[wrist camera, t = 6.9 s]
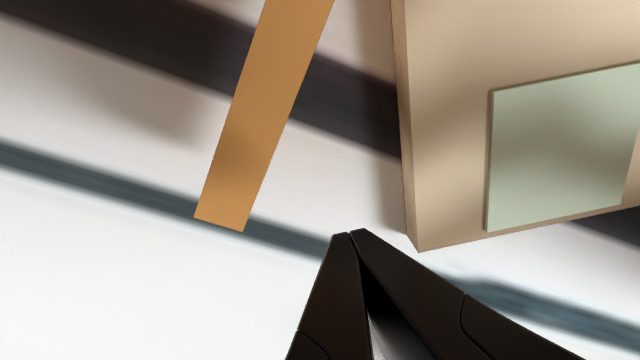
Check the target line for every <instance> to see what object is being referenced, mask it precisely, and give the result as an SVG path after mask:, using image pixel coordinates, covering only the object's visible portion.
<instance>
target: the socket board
mask: <svg viewBox="0 0 640 360" xmlns="http://www.w3.org/2000/svg"><path fill="white" fill-rule="evenodd" d="M391 12H392V27H393V41H394V55H395V69H396V84H397V98H398V112H399V126H400V141H401V155H402V169H403V184H404V198H405V212H406V226H407V236H408V238H409V239H410V241H411V242H412V244H413V245H414V247H415V249H416V250H417V252H418V253H420V252H425V251H429V250H434V249H439V248H444V247H448V246H453V245H458V244H462V243H467V242H472V241H476V240H481V239H486V238H490V237H495V236H500V235H504V234H509V233H514V232H518V231H523V230H528V229H532V228H537V227H542V226H546V225H551V224H556V223H560V222H565V221H570V220H574V219H579V218H584V217H588V216H593V215H598V214H602V213H607V212H612V211H616V210H621V209H626V208H630V207H635V206H640V0H391Z"/></svg>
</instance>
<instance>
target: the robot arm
mask: <svg viewBox="0 0 640 360" xmlns="http://www.w3.org/2000/svg"><path fill="white" fill-rule="evenodd" d="M368 317H369V320H370V323H371V326H372V328H373V331H374V333H375V336H376V338H377V341H378V343H379V345H380V348H381V350H382V353H383V355H384V358H385V360H586V359H584V358H582V357H580V356H578V355H576V354H574V353H572V352H570V351H568V350H566V349H565V348H563V347H561V346H559V345H557V344H555V343H553V342H551V341H549V340H547V339H545V338H543V337H541V336H540V335H538V334H536V333H534V332H532V331H530V330H528V329H527V328H525V327H523V326H521V325H519V324H517V323H516V322H514V321H512V320H510V319H508V318H506V317H505V316H503V315H502V314H500V313H498V312H497V311H495V310H493V309H492V308H490V307H488V306H487V305H485V304H483V303H482V302H480V301H478V300H477V299H475V298H474V297H472V296H471V295H469V294H465V292H464V291H463V290H461V289H459V288H458V287H456V286H455V285H453V284H452V283H450V282H448V281H447V280H445V279H444V278H442V277H441V276H439V275H437V274H436V273H434V272H433V271H431V270H430V269H428V268H426V267H425V266H423V265H422V264H420V263H419V262H417V261H415V260H414V259H412V258H411V257H409V256H408V255H406V254H404V253H403V252H401V251H400V250H398V249H397V248H395V247H393V246H392V245H390V244H389V243H387V242H386V241H384V240H382V239H381V238H379V237H378V236H376V235H375V234H373V233H371V232H370V231H368V230H367V229H365V228H361V229H357V230H352V231H350V232H349V233H348V232H342V233H338V234H333V235H332V237H331V239H330V242H329V245H328V247H327V250H326V253H325V255H324V258H323V261H322V263H321V266H320V269H319V272H318V274H317V277H316V280H315V282H314V285H313V288H312V290H311V293H310V296H309V298H308V301H307V304H306V306H305V309H304V312H303V314H302V317H301V320H300V322H299V325H298V328H297V331H296V333H295V335H294V338H293V341H292V343H291V346H290V348H289V351H288V353H287V356H286V358H285V360H374V355H373V348H372V341H371V334H370V327H369V320H368Z"/></svg>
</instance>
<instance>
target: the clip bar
mask: <svg viewBox="0 0 640 360" xmlns="http://www.w3.org/2000/svg"><path fill="white" fill-rule="evenodd" d="M334 1H335V0H266V1H265V4H264V7H263V10H262V13H261V16H260V19H259V22H258V25H257V28H256V31H255V34H254V37H253V40H252V43H251V46H250V49H249V52H248V55H247V58H246V61H245V64H244V67H243V70H242V73H241V76H240V79H239V82H238V85H237V88H236V91H235V94H234V97H233V100H232V103H231V106H230V109H229V112H228V115H227V118H226V121H225V124H224V127H223V130H222V133H221V136H220V139H219V142H218V145H217V148H216V151H215V154H214V157H213V160H212V163H211V166H210V169H209V172H208V175H207V178H206V181H205V184H204V187H203V190H202V193H201V196H200V199H199V202H198V205H197V208H196V211H195V214H194V218H197V219H200V220H204V221H207V222H211V223H214V224H217V225H221V226H224V227H228V228H231V229H235V230H238V231H241V232H242V231H243V229H244V226H245V224H246V221H247V219H248V216H249V214H250V211H251V209H252V206H253V204H254V201H255V199H256V196H257V194H258V191H259V189H260V186H261V184H262V181H263V179H264V176H265V174H266V171H267V169H268V166H269V164H270V161H271V159H272V156H273V154H274V151H275V149H276V146H277V144H278V141H279V139H280V136H281V134H282V131H283V129H284V126H285V124H286V121H287V119H288V116H289V114H290V111H291V108H292V106H293V103H294V101H295V98H296V96H297V93H298V91H299V88H300V86H301V83H302V81H303V78H304V76H305V73H306V71H307V68H308V66H309V63H310V61H311V58H312V56H313V53H314V51H315V48H316V46H317V43H318V41H319V38H320V36H321V33H322V31H323V28H324V26H325V23H326V21H327V18H328V16H329V13H330V11H331V8H332V6H333V3H334Z"/></svg>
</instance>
